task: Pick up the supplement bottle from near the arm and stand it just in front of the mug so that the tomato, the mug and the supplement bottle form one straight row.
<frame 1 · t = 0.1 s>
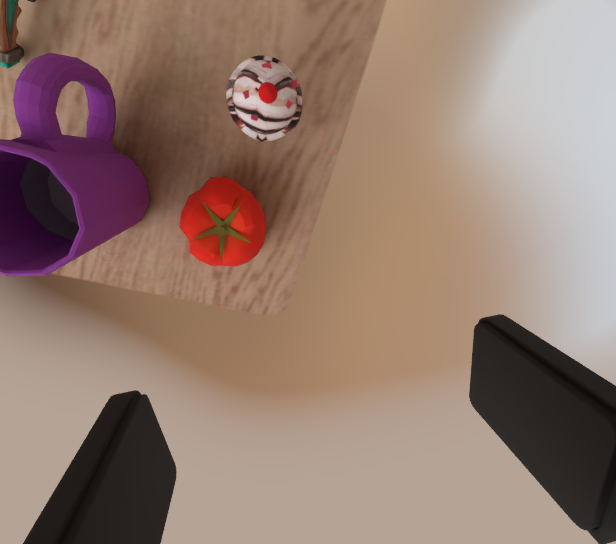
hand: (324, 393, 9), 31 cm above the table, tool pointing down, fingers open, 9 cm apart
mug: (109, 160, 33), on the table
ice cream cone: (261, 117, 34), on the table
tomato: (227, 215, 37), on the table
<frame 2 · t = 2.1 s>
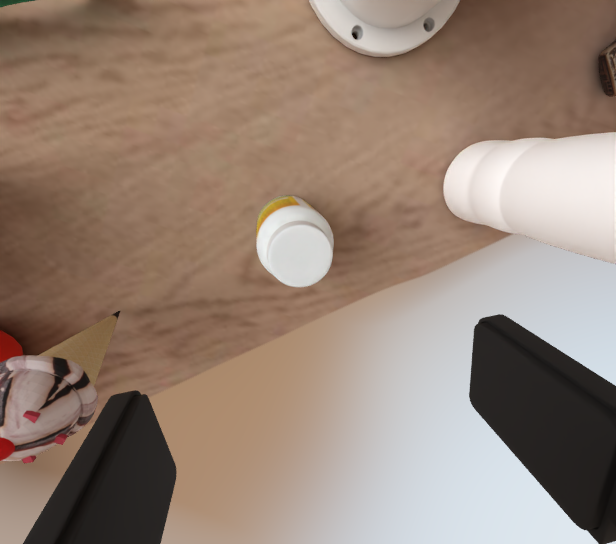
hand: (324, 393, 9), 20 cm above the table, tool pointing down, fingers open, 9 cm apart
knife: (23, 10, 20), on the table
ice cream cone: (120, 309, 28), on the table
supplement bottle: (286, 224, 28), on the table
water bottle: (473, 181, 29), on the table
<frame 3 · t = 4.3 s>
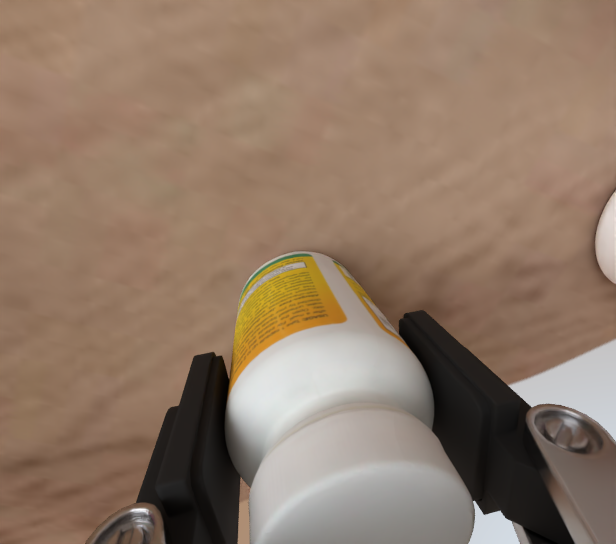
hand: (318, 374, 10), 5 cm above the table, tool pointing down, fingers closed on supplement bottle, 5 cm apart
supplement bottle: (297, 302, 14), on the table, touching gripper
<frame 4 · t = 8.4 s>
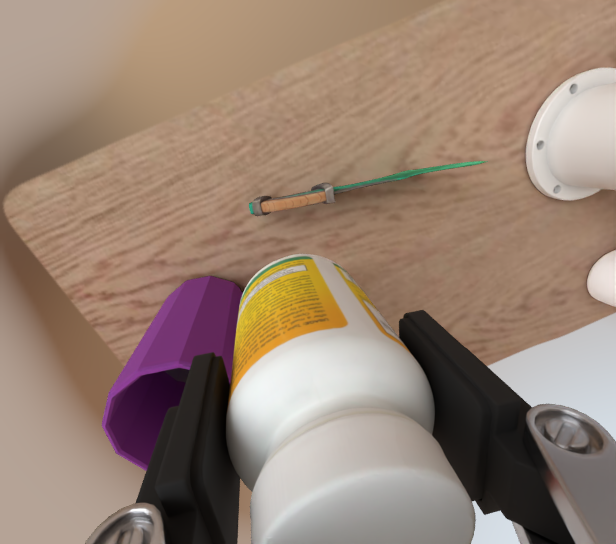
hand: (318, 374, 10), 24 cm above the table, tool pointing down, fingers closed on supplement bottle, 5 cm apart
knife: (354, 182, 32), on the table
mug: (237, 300, 34), on the table
supplement bottle: (298, 305, 14), point 18 cm above the table, touching gripper
water bottle: (606, 273, 41), on the table
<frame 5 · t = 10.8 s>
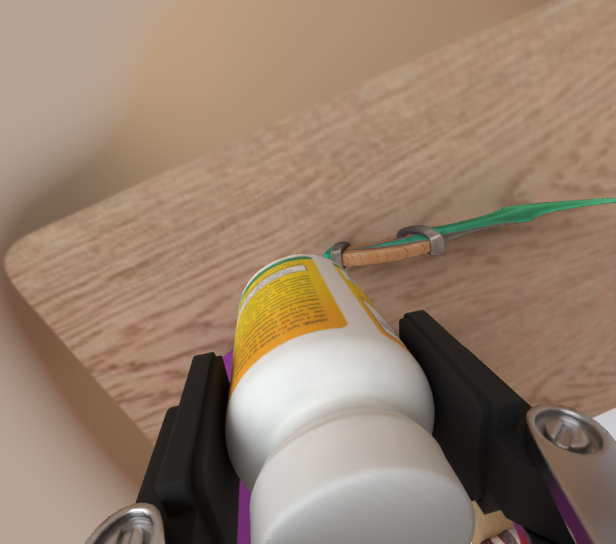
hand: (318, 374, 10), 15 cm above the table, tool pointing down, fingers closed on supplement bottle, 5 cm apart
knife: (448, 220, 25), on the table
mug: (295, 364, 27), on the table
ice cream cone: (429, 428, 33), on the table
supplement bottle: (298, 305, 14), point 10 cm above the table, touching gripper
when the fingers open (7 cm above the table, at t = 12.8 s): supplement bottle drops 2 cm, on the table.
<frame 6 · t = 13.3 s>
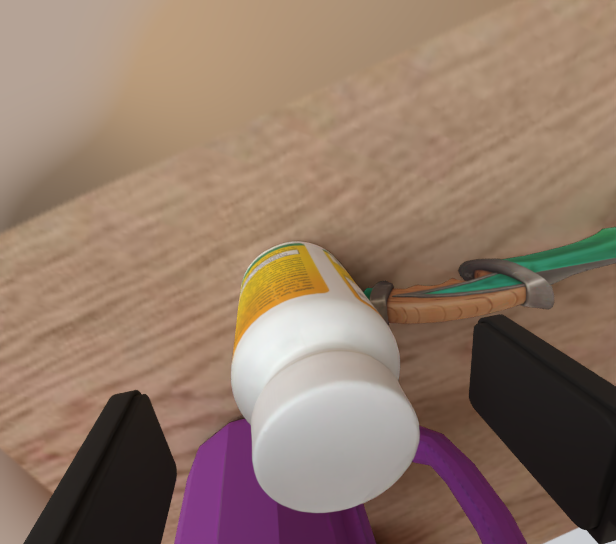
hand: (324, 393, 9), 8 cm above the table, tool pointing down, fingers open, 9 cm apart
knife: (527, 246, 18), on the table
mug: (310, 439, 20), on the table
supplement bottle: (292, 287, 16), on the table
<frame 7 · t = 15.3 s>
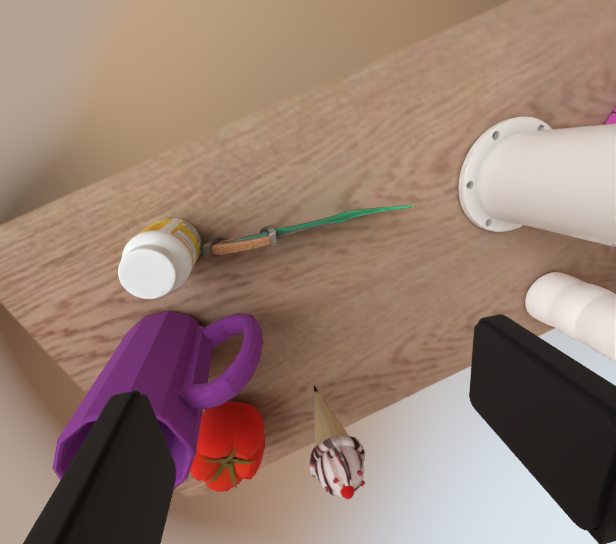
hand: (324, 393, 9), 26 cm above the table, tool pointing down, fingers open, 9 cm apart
knife: (302, 221, 34), on the table
mug: (196, 331, 36), on the table
ice cream cone: (313, 384, 42), on the table
tomato: (230, 416, 41), on the table
supplement bottle: (174, 242, 32), on the table
water bottle: (543, 293, 44), on the table
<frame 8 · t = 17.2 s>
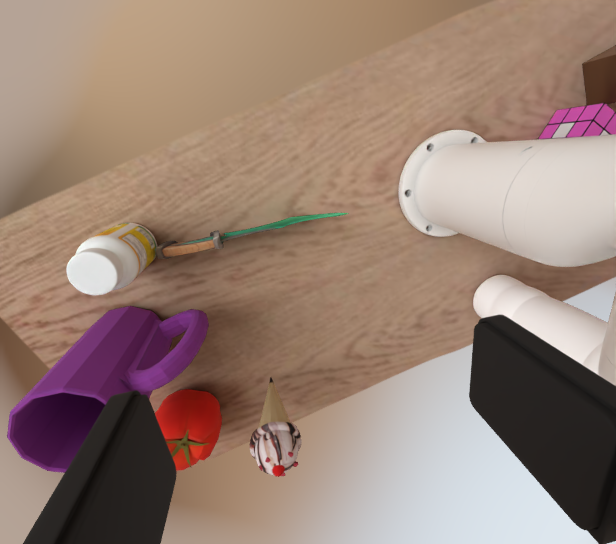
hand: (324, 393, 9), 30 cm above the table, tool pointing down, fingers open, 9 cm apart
knife: (250, 226, 37), on the table
puzzle toy: (555, 143, 40), on the table
mug: (157, 325, 40), on the table
ice cream cone: (270, 376, 45), on the table
tomato: (193, 403, 45), on the table
supplement bottle: (133, 244, 36), on the table
walnut block: (603, 75, 38), on the table
water bottle: (491, 295, 46), on the table
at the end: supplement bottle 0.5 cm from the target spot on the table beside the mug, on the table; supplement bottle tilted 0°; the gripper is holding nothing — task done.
